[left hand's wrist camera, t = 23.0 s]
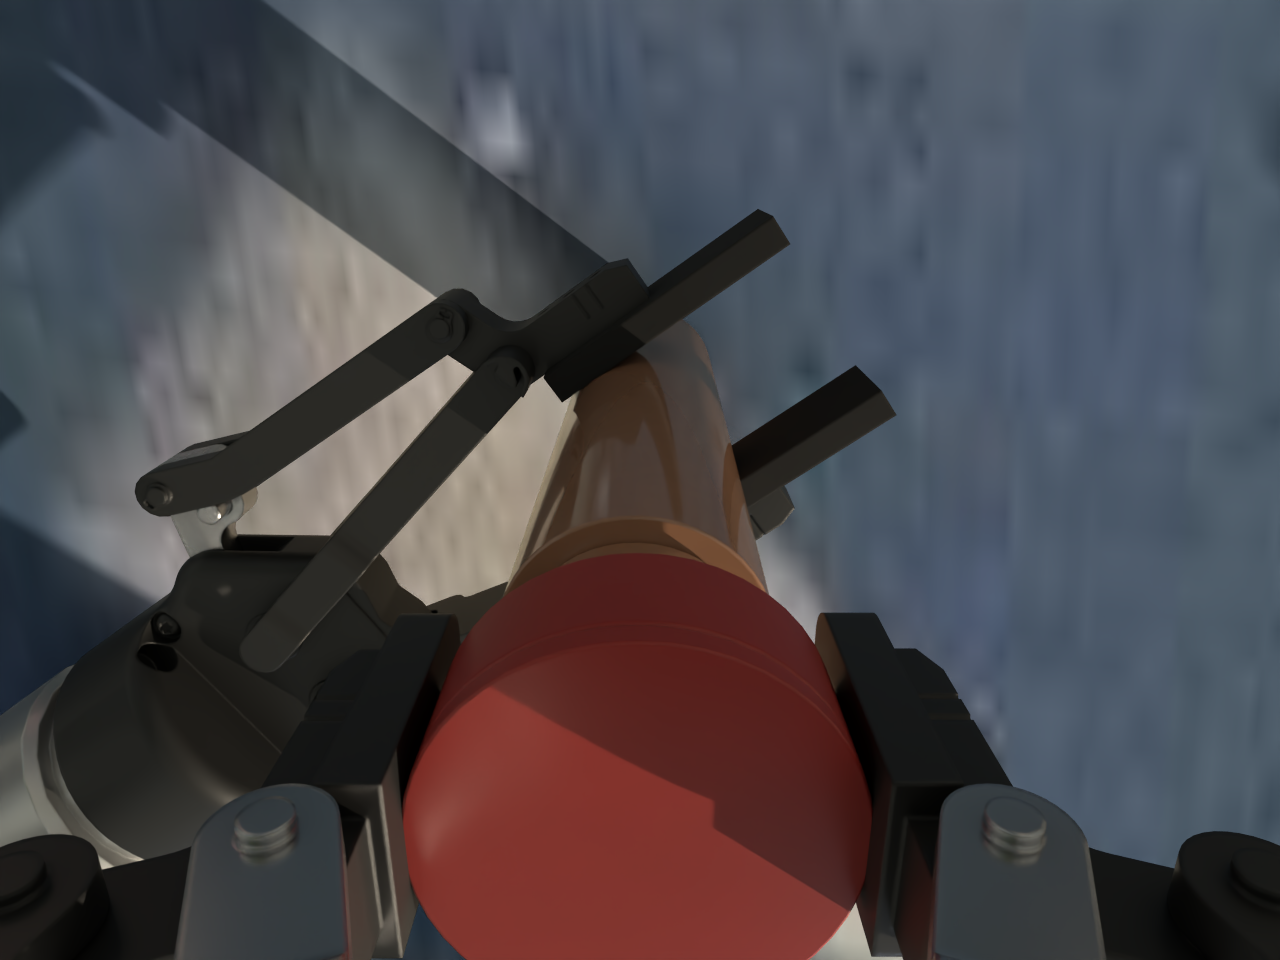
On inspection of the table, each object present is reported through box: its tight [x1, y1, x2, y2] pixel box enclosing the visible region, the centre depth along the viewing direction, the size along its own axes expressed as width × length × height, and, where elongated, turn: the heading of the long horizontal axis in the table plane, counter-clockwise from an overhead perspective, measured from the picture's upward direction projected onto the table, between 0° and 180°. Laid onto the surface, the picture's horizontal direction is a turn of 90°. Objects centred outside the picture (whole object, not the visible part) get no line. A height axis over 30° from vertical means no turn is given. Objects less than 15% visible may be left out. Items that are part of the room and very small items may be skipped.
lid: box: [402, 553, 873, 960], centre depth 10 cm, size 5×5×2 cm
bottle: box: [503, 320, 769, 597], centre depth 20 cm, size 4×4×19 cm
